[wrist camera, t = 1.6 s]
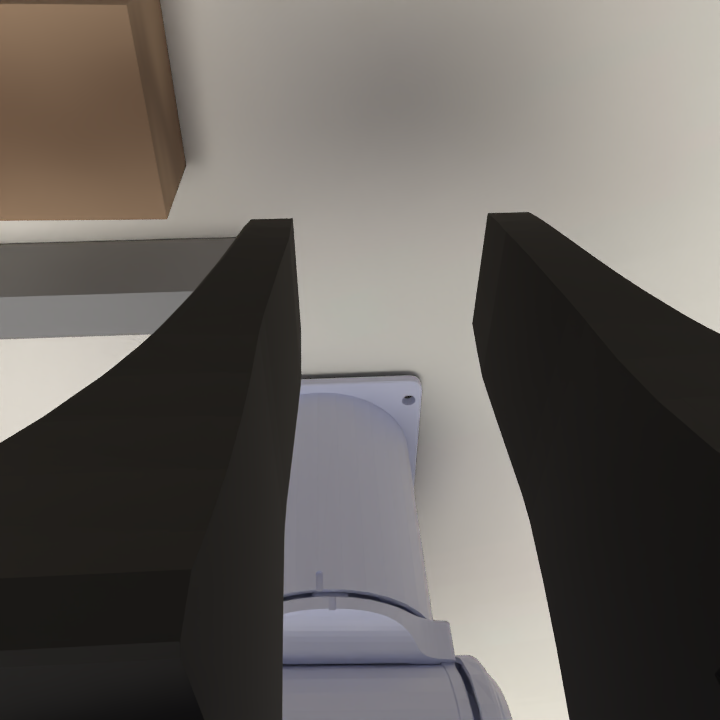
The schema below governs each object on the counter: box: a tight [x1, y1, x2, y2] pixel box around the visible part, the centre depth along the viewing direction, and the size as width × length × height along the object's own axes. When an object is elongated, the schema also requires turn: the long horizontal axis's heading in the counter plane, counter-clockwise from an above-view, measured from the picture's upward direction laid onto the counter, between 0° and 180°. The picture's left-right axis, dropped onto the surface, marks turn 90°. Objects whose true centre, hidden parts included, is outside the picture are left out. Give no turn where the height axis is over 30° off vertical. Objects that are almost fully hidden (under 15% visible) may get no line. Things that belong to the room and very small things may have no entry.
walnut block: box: [0, 0, 186, 221], centre depth 17 cm, size 5×5×4 cm
